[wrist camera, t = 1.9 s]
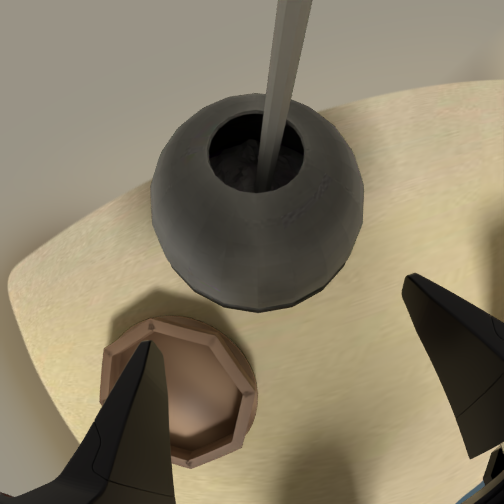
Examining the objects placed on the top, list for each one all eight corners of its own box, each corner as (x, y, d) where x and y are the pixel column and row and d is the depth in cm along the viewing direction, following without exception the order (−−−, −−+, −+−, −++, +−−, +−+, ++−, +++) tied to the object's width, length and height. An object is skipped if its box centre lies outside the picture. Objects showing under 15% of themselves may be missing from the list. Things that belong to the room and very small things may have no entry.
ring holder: (240, 469, 18) (238, 483, 16) (105, 427, 19) (94, 436, 17) (273, 336, 20) (275, 340, 18) (119, 297, 21) (106, 297, 18)
